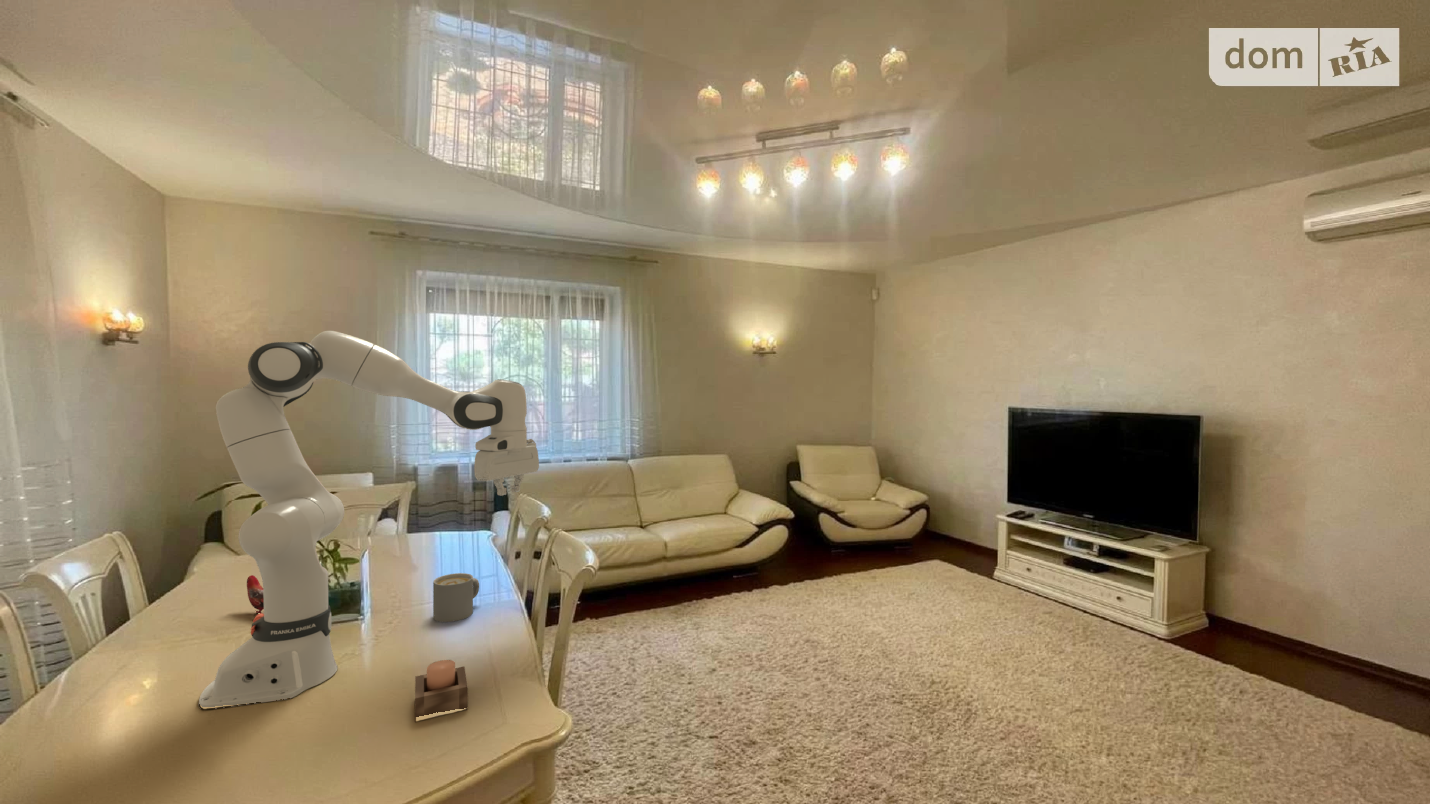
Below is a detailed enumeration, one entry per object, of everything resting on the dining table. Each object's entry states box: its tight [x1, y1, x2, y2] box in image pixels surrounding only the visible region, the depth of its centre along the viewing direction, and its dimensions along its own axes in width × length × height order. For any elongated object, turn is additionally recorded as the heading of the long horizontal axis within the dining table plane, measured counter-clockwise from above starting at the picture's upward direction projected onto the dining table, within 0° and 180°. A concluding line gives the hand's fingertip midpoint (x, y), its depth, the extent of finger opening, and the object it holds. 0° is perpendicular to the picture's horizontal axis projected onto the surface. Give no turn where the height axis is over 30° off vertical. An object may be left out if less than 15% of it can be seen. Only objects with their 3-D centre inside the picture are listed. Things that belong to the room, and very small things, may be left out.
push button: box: [426, 659, 456, 691], centre depth 109 cm, size 5×5×4 cm
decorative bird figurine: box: [246, 574, 264, 614], centre depth 151 cm, size 3×18×10 cm, turn 59°
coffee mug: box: [432, 572, 480, 623], centre depth 154 cm, size 13×10×10 cm
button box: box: [414, 666, 469, 718], centre depth 109 cm, size 9×9×4 cm
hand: (508, 493), depth 146 cm, fingers open, 4 cm apart
